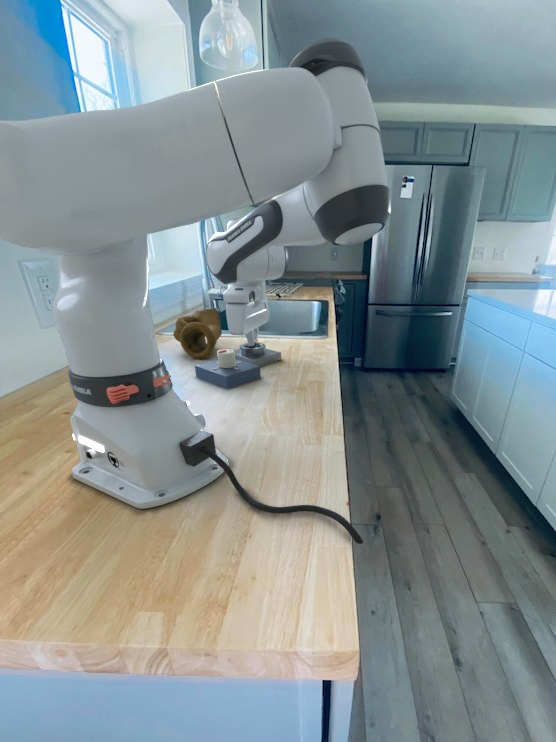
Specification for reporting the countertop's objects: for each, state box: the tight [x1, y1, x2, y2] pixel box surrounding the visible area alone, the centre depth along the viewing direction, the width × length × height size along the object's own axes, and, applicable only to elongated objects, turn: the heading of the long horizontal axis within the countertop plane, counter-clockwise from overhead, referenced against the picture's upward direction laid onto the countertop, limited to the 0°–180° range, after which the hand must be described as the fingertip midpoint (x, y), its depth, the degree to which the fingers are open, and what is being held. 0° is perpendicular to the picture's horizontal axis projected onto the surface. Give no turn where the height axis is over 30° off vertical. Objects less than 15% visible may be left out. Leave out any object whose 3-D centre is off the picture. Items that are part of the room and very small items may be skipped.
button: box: [245, 344, 260, 348], centre depth 100 cm, size 4×4×2 cm
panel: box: [194, 359, 262, 390], centre depth 88 cm, size 12×10×3 cm
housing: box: [233, 342, 282, 367], centre depth 101 cm, size 12×10×4 cm
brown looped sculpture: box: [172, 307, 223, 360], centre depth 109 cm, size 18×13×22 cm
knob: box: [216, 348, 236, 368], centre depth 86 cm, size 4×4×4 cm
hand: (252, 344), depth 100 cm, fingers closed, pressing on button
